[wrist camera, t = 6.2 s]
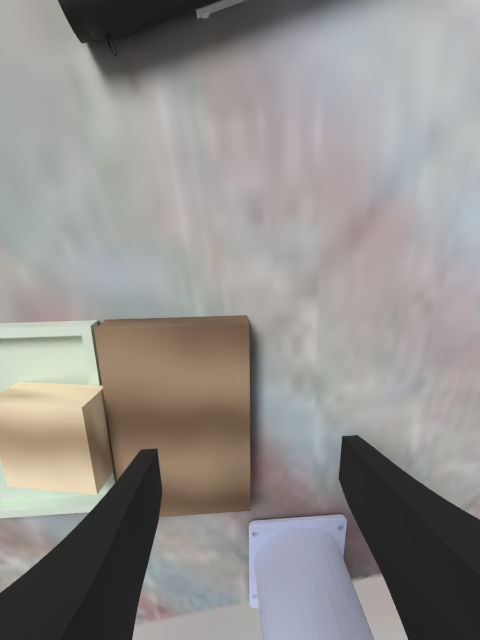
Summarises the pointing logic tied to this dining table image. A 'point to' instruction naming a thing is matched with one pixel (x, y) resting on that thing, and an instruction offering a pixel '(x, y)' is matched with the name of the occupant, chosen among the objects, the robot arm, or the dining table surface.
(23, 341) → the green tray
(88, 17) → the black toy gun
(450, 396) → the dining table surface
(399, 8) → the dining table surface
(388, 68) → the dining table surface
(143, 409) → the walnut board
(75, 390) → the oak tile
